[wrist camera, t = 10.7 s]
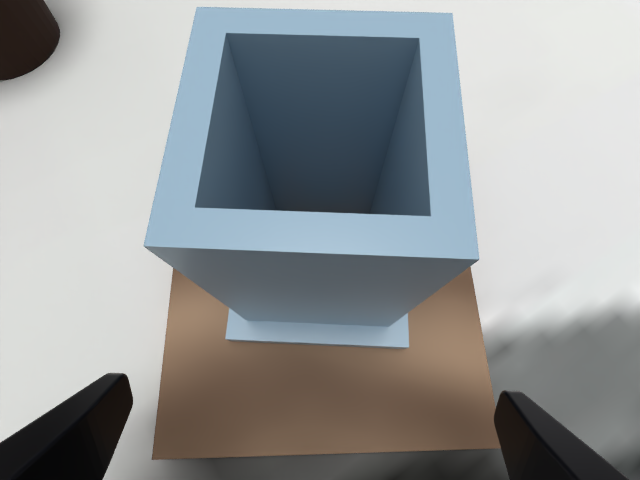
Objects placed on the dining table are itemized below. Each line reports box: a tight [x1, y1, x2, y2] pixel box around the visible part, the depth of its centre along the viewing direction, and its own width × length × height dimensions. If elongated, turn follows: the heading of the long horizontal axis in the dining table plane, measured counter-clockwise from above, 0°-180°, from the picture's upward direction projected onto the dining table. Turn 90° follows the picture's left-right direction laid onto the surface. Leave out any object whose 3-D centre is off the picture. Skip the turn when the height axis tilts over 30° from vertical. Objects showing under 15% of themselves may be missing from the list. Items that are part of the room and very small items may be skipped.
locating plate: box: [152, 267, 501, 460], centre depth 17 cm, size 16×14×4 cm
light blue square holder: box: [144, 7, 479, 349], centre depth 13 cm, size 8×8×10 cm
